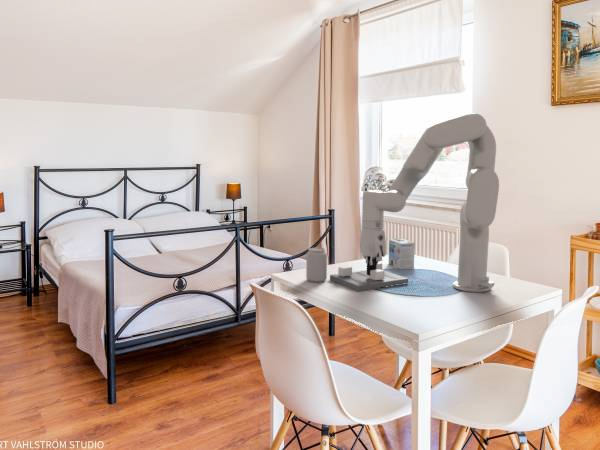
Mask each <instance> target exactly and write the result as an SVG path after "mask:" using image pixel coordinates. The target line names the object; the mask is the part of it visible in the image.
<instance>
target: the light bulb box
mask: <svg viewBox="0 0 600 450" xmlns="http://www.w3.org/2000/svg"><path fill="white" fill-rule="evenodd" d="M388 243H389V245H388V265H390V266H392V267H394V268H396V269H399V270H408V269H414V268H415V249H416V248H415V246H416V243H415V241H410V240H407V239H404V238H394V239H393V238H392V239H391V238H390V239H389V241H388Z"/></svg>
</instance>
